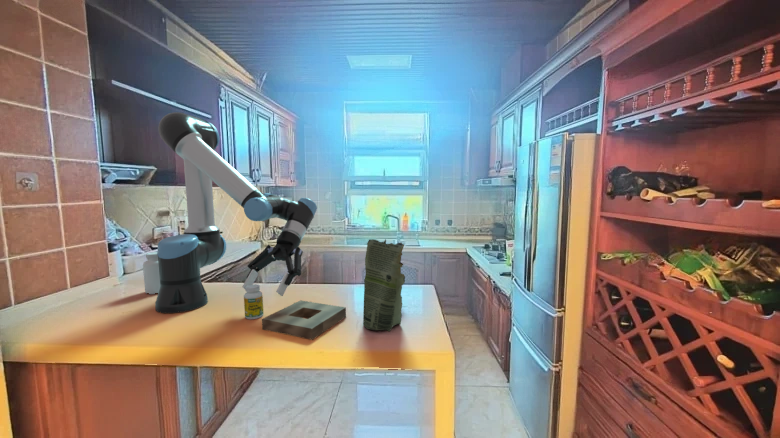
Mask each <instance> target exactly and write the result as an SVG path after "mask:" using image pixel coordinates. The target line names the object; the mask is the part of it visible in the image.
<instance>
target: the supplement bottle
mask: <svg viewBox="0 0 780 438" xmlns="http://www.w3.org/2000/svg"><path fill="white" fill-rule="evenodd" d="M260 287H261V286H260V285H259V284H255V283H253V285H248V286H246V290H245V293H244V295H243V306H244V317H245V319H247V320H256V319H257V320H258V319H259V318H262V317H263V316H264V301H263V300H264V299H263V297H264V296H263V292H262V291H260V290H261V288H260Z"/></svg>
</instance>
